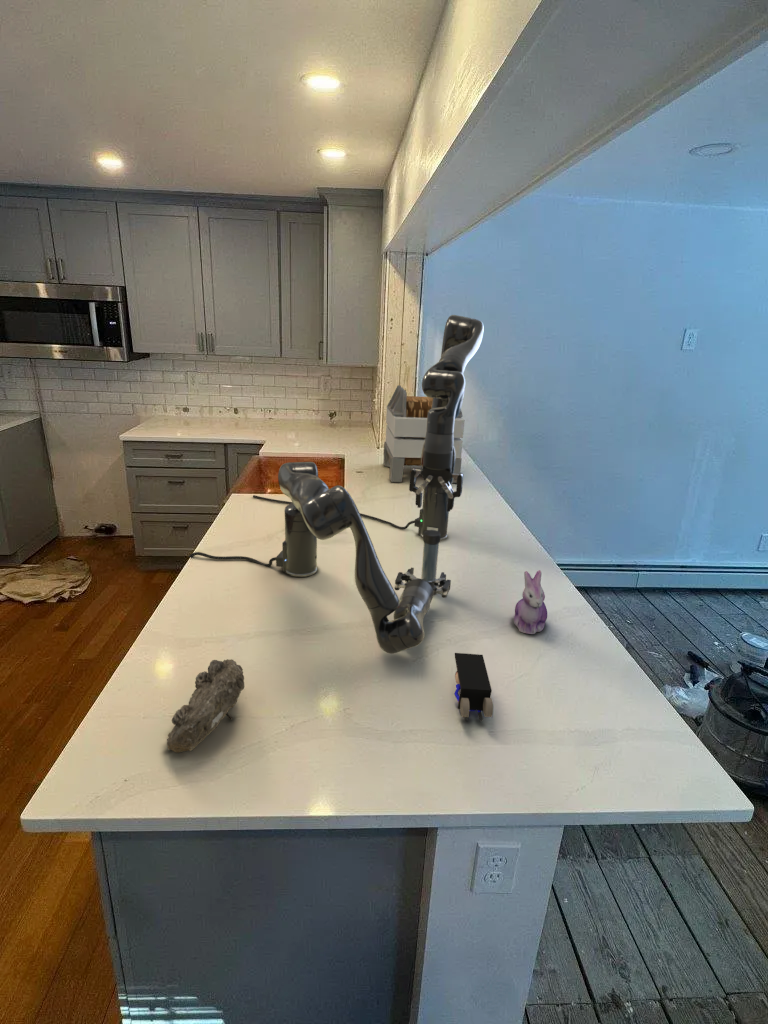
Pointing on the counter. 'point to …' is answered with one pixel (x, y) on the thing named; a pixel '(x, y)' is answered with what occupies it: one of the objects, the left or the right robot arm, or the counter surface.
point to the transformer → (412, 433)
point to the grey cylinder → (429, 561)
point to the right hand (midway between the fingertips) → (434, 508)
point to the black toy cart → (472, 685)
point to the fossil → (206, 705)
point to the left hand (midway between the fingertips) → (427, 572)
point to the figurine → (531, 606)
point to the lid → (431, 537)
